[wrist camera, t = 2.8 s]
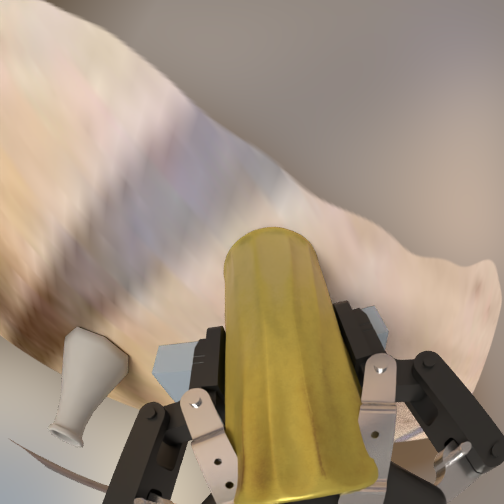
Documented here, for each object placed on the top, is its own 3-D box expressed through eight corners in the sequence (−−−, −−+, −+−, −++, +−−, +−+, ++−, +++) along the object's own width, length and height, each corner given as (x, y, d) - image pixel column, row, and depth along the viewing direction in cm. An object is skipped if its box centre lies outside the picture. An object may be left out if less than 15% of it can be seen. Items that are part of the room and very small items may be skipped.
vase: (312, 301, 19) (367, 498, 7) (227, 306, 19) (222, 517, 7) (320, 223, 16) (439, 455, 4) (219, 227, 16) (188, 499, 4)
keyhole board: (159, 345, 21) (151, 373, 19) (374, 305, 20) (388, 331, 17) (208, 415, 27) (207, 436, 25) (362, 388, 26) (369, 409, 24)
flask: (140, 353, 22) (114, 451, 13) (119, 383, 25) (98, 461, 16) (72, 313, 20) (24, 403, 11) (62, 351, 22) (28, 425, 14)
